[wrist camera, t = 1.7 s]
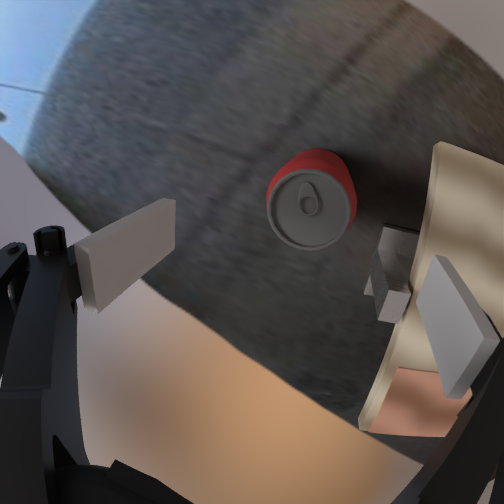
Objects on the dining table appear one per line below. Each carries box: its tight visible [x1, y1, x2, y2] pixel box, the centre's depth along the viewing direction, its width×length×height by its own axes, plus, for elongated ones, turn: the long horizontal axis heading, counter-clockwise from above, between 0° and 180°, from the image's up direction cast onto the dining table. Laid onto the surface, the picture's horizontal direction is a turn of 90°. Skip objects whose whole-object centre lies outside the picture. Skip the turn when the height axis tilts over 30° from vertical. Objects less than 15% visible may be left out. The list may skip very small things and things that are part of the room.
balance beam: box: [358, 141, 504, 437], centre depth 23 cm, size 28×12×2 cm, turn 173°
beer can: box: [267, 148, 357, 251], centre depth 25 cm, size 7×7×12 cm
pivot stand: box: [363, 223, 420, 324], centre depth 26 cm, size 8×17×10 cm, turn 83°
